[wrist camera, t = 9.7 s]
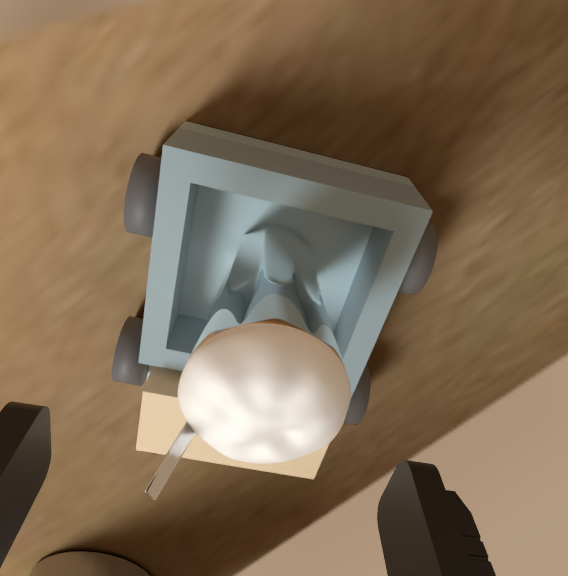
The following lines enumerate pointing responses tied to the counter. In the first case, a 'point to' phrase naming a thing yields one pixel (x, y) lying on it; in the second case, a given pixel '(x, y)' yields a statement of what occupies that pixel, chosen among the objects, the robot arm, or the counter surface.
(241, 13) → the counter surface
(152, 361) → the chassis
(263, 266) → the milkshake
